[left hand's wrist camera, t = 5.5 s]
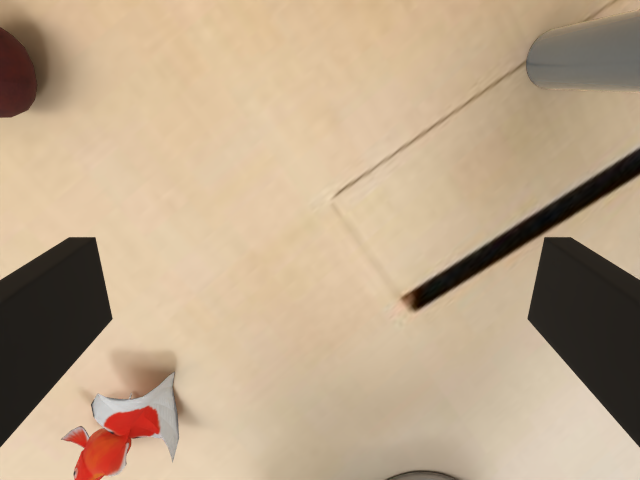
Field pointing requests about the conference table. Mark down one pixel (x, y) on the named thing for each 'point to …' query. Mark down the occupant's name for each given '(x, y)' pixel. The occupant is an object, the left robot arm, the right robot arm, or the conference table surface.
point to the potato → (15, 77)
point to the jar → (589, 55)
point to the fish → (125, 430)
